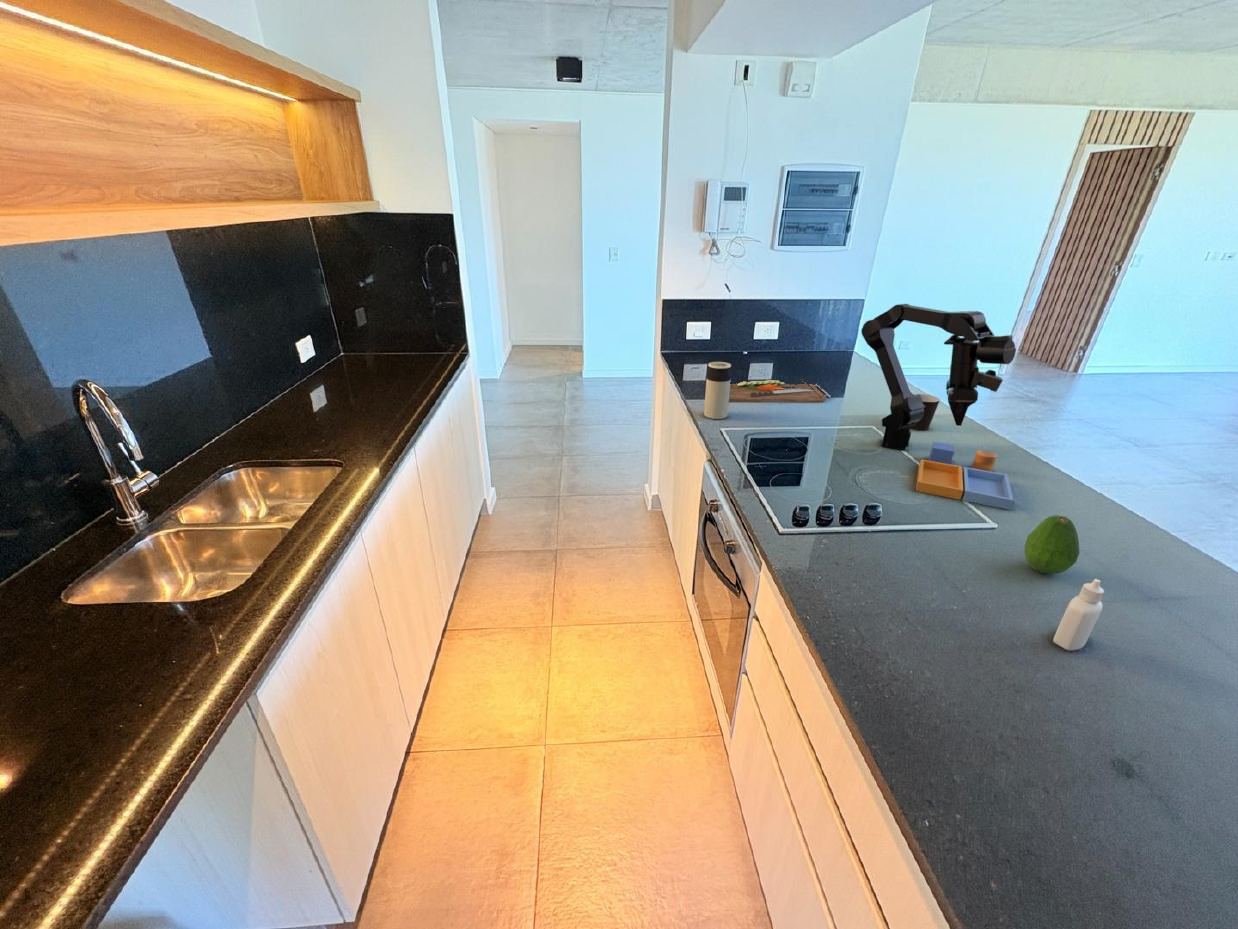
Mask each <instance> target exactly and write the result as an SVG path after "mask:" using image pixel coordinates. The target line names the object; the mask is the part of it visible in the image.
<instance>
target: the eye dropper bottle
mask: <svg viewBox="0 0 1238 929" xmlns="http://www.w3.org/2000/svg"><path fill="white" fill-rule="evenodd" d="M1104 594H1105V590H1104V589H1103V587H1102V586H1101V580H1100V579H1097V578H1094V579H1093V581H1092V582H1089V583H1088V582H1087V583H1084V584H1083V585H1082V587H1081V590H1080V591H1079V594H1078V595H1075V596H1074V597H1073V598H1072V599H1071V600H1070V601H1069V603H1068V605H1067V607H1066V609H1065V612H1064V613H1063V616H1062V618H1061V620H1060V623H1059V626H1058V627H1057V630H1056V632H1055V634H1054V636H1053V643H1054V644H1055V645H1057V646H1059V647H1060V648H1062V649H1063V650H1065V651H1070V652H1071V651H1072V652H1073V651H1078V650H1080V649H1083V647H1084V646H1085V645H1086V644H1087V642H1088V640H1089V638H1090V635H1091V633H1092V631H1093V629H1094V627H1095V625H1096V623H1097V621H1098V619H1099V617H1100V615H1101V613H1102V610H1103V603H1102V601H1101V600H1102V598H1103V596H1104Z"/></svg>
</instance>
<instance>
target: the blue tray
mask: <svg viewBox="0 0 1238 929" xmlns="http://www.w3.org/2000/svg"><path fill="white" fill-rule="evenodd" d="M962 477H963V493H962V496H961V500H962V501H964V502H969V503H973V504H978V505H984V506H989V507H992V508H993V507H994V508H998V509H1003V510H1008V511H1011V510H1012V507H1013V504H1014V501H1015V500H1014V496H1013V492H1012V488H1011V483H1010V479H1009V474H1005V473H1001V472H995V471H992V472H990V471H984V470H979V469H973V468H972V467H968V466H967V467H966V466H963V467H962Z"/></svg>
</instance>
